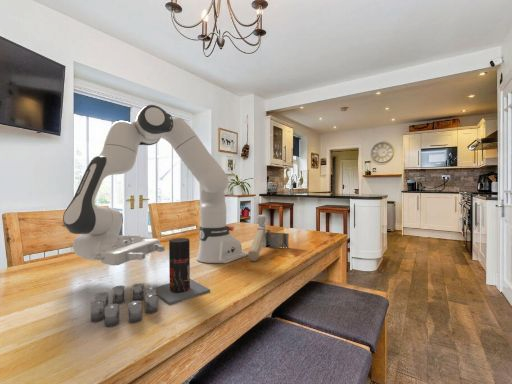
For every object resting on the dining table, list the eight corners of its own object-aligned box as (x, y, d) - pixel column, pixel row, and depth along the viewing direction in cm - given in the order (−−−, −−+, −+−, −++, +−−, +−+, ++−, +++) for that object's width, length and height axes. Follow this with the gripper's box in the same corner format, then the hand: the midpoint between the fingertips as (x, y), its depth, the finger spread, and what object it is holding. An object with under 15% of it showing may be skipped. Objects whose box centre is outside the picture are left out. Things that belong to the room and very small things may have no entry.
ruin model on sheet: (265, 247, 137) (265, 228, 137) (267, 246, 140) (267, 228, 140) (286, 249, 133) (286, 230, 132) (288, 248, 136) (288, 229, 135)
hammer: (258, 239, 109) (266, 214, 137) (246, 239, 110) (257, 214, 138) (259, 273, 113) (267, 242, 142) (248, 273, 114) (258, 242, 142)
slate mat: (188, 279, 91) (188, 278, 91) (210, 291, 81) (210, 289, 81) (150, 290, 82) (150, 288, 82) (169, 304, 72) (169, 302, 72)
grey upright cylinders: (146, 292, 80) (145, 279, 80) (169, 311, 69) (169, 295, 68) (83, 309, 69) (83, 294, 69) (99, 335, 58) (99, 317, 58)
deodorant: (189, 292, 79) (189, 241, 78) (168, 293, 78) (167, 242, 77) (190, 284, 85) (189, 237, 84) (170, 285, 84) (170, 238, 83)
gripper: (90, 246, 77) (129, 250, 73) (139, 233, 97) (172, 236, 93) (90, 268, 78) (129, 273, 74) (139, 251, 97) (172, 254, 93)
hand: (153, 252), depth 84 cm, fingers open, 8 cm apart
